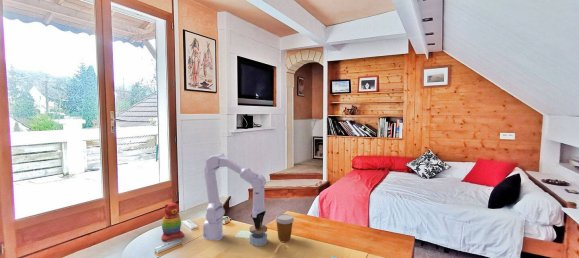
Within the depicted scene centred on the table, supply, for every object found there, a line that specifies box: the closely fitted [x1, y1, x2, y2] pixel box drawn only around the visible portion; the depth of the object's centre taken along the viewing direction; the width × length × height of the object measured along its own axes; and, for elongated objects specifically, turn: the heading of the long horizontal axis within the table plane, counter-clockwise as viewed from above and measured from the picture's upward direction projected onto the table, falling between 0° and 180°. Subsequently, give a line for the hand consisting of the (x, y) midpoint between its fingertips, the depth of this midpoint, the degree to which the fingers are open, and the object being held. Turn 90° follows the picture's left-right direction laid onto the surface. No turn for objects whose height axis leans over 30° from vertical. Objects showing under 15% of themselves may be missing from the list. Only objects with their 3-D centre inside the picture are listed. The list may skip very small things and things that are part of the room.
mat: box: [234, 229, 251, 239], centre depth 147 cm, size 9×9×1 cm
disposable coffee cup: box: [275, 213, 295, 243], centre depth 142 cm, size 10×10×12 cm
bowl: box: [249, 232, 268, 247], centre depth 138 cm, size 9×9×4 cm
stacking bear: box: [161, 202, 185, 243], centre depth 144 cm, size 11×10×18 cm
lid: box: [249, 223, 268, 234], centre depth 138 cm, size 9×9×4 cm
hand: (258, 226), depth 138 cm, fingers closed on lid, 3 cm apart
